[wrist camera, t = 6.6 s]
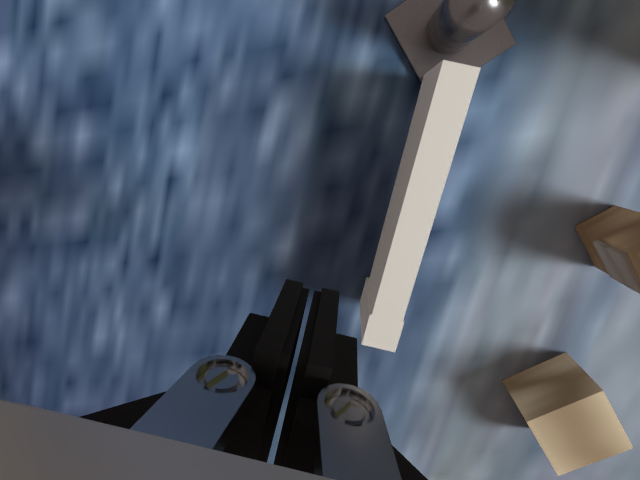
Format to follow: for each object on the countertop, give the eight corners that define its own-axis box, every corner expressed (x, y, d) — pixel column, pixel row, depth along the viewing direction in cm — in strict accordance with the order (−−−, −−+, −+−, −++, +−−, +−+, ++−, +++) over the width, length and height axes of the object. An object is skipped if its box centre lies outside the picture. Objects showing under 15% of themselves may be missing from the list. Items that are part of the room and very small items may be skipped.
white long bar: (419, 76, 21) (440, 59, 16) (451, 83, 21) (483, 68, 16) (359, 301, 25) (361, 344, 20) (386, 307, 25) (395, 352, 20)
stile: (590, 268, 23) (668, 313, 18) (570, 228, 23) (643, 261, 17) (634, 246, 23) (729, 286, 17) (614, 205, 22) (706, 231, 16)
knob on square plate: (429, 99, 21) (457, 88, 16) (384, 17, 21) (396, -27, 15) (513, 45, 20) (576, 11, 15) (469, -45, 19) (518, -118, 14)
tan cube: (529, 426, 27) (558, 475, 23) (501, 379, 26) (526, 422, 22) (592, 401, 26) (633, 447, 22) (565, 351, 25) (603, 390, 21)
